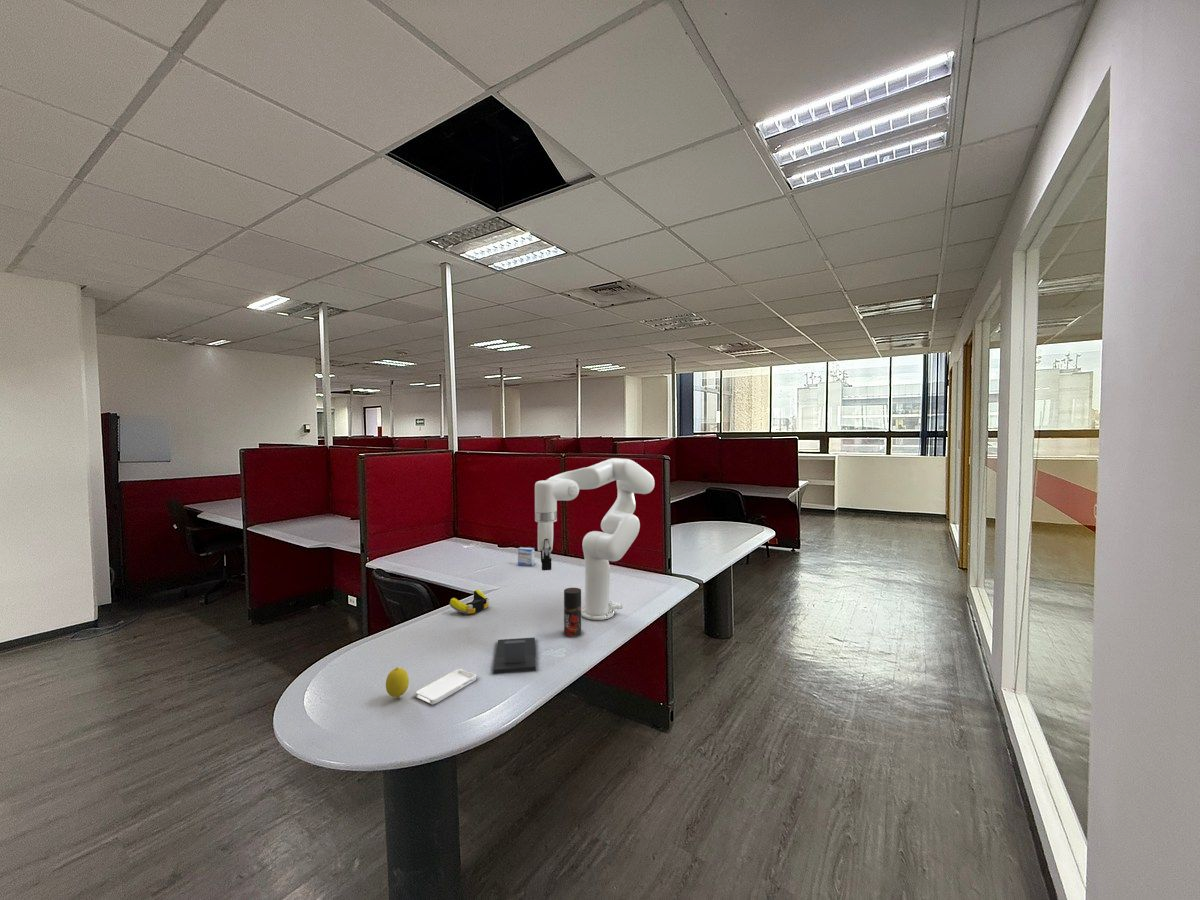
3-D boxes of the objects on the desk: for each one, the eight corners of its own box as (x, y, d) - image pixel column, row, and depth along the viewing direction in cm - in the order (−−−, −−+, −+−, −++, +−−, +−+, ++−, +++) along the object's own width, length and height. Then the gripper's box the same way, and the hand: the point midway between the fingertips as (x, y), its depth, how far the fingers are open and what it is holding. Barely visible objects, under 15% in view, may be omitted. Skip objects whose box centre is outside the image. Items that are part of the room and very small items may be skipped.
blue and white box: (517, 565, 249) (517, 548, 248) (520, 563, 253) (520, 546, 253) (532, 566, 247) (532, 549, 247) (534, 563, 252) (534, 547, 251)
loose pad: (535, 653, 149) (534, 631, 149) (535, 670, 139) (535, 646, 139) (495, 656, 148) (495, 633, 147) (493, 673, 137) (493, 649, 137)
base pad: (534, 640, 159) (534, 637, 159) (535, 657, 147) (535, 653, 147) (498, 643, 157) (498, 639, 157) (495, 660, 145) (495, 656, 145)
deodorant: (583, 631, 166) (583, 588, 166) (577, 638, 161) (577, 594, 160) (568, 628, 168) (568, 586, 168) (561, 635, 163) (561, 592, 162)
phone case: (459, 672, 138) (414, 697, 125) (459, 667, 138) (414, 691, 125) (477, 679, 134) (433, 705, 121) (477, 674, 134) (433, 700, 121)
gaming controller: (447, 612, 183) (464, 618, 178) (447, 598, 183) (464, 603, 177) (477, 601, 196) (494, 606, 190) (477, 588, 196) (494, 592, 190)
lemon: (390, 692, 127) (389, 663, 127) (411, 691, 128) (411, 662, 127) (382, 704, 122) (382, 673, 121) (405, 703, 122) (404, 672, 122)
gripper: (534, 512, 172) (534, 559, 172) (535, 521, 155) (535, 573, 155) (555, 512, 173) (555, 559, 173) (558, 521, 156) (558, 572, 156)
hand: (546, 566), depth 164 cm, fingers open, 9 cm apart
